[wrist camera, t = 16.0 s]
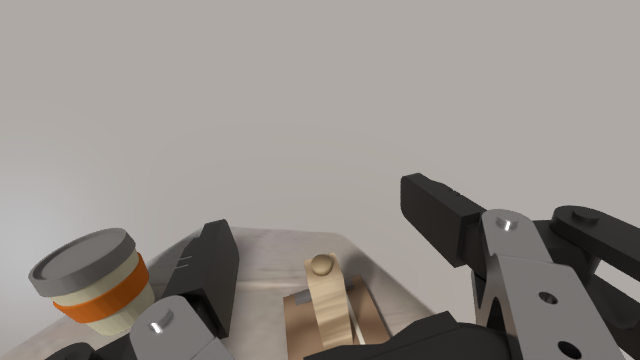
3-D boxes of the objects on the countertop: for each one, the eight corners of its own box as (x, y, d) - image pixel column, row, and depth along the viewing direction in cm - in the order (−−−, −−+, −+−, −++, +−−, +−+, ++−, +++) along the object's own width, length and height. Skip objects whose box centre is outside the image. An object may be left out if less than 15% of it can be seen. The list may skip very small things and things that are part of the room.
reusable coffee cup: (120, 353, 37) (61, 288, 31) (67, 340, 41) (4, 279, 34) (179, 286, 48) (145, 227, 41) (133, 280, 51) (95, 225, 45)
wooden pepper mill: (353, 344, 32) (342, 270, 26) (324, 353, 31) (307, 279, 25) (344, 317, 36) (333, 246, 29) (318, 324, 35) (302, 254, 29)
